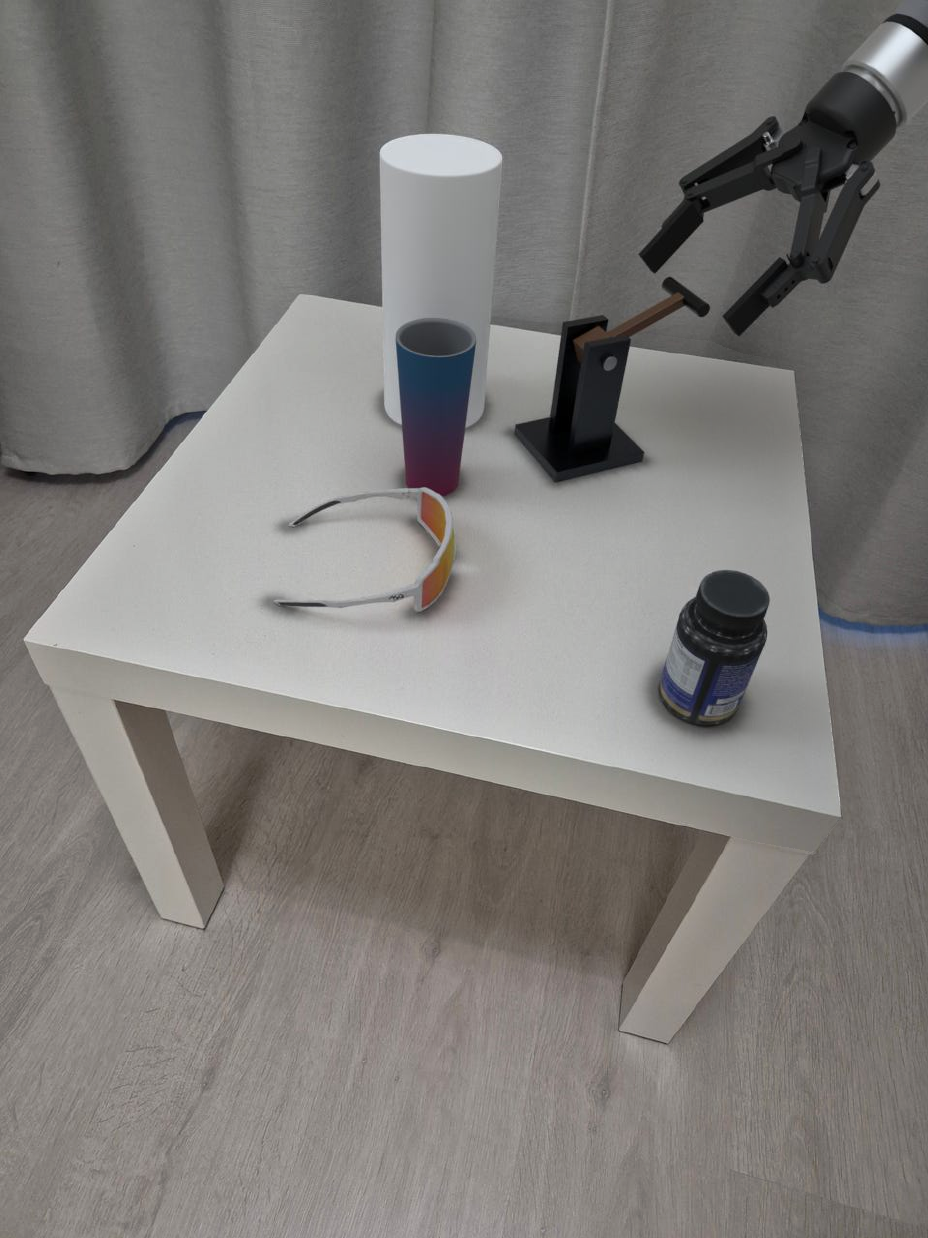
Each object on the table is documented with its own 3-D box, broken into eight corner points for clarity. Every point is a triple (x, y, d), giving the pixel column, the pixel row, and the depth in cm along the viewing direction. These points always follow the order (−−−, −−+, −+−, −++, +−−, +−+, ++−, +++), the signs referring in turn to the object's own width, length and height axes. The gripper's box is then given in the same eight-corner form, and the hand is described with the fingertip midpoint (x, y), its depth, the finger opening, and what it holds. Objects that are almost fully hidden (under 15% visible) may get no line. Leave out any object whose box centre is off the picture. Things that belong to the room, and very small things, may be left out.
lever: (674, 290, 85) (672, 268, 83) (711, 317, 81) (709, 296, 79) (567, 350, 84) (562, 330, 83) (599, 381, 81) (595, 360, 79)
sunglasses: (460, 625, 71) (454, 580, 67) (277, 639, 72) (261, 595, 68) (458, 514, 81) (452, 470, 77) (297, 528, 81) (284, 485, 78)
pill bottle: (739, 677, 68) (783, 573, 60) (735, 738, 64) (781, 634, 56) (661, 659, 69) (693, 554, 61) (651, 717, 65) (685, 612, 57)
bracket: (597, 415, 94) (617, 300, 85) (642, 461, 88) (669, 344, 79) (513, 434, 91) (525, 316, 82) (555, 483, 85) (573, 363, 76)
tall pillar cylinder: (363, 404, 93) (353, 149, 76) (432, 369, 99) (438, 125, 81) (436, 445, 88) (444, 184, 71) (504, 406, 94) (527, 155, 77)
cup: (389, 466, 86) (386, 321, 75) (455, 456, 87) (462, 313, 77) (406, 508, 81) (407, 360, 70) (476, 497, 83) (487, 351, 72)
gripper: (989, 180, 71) (786, 379, 77) (789, 92, 87) (633, 263, 92) (972, 112, 66) (755, 332, 71) (762, 32, 81) (598, 217, 87)
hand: (686, 294), depth 82 cm, fingers open, 13 cm apart
